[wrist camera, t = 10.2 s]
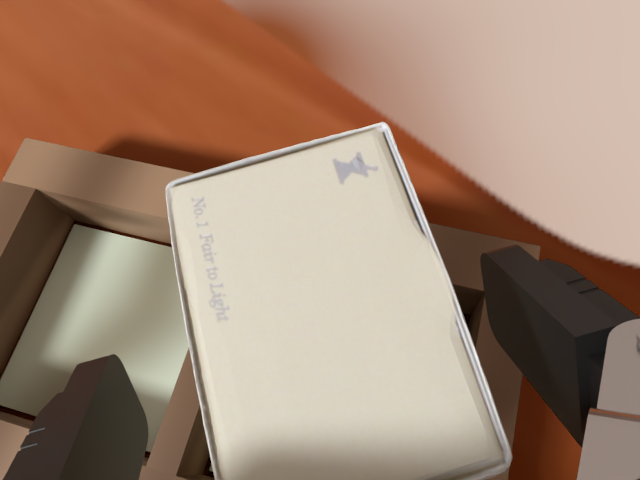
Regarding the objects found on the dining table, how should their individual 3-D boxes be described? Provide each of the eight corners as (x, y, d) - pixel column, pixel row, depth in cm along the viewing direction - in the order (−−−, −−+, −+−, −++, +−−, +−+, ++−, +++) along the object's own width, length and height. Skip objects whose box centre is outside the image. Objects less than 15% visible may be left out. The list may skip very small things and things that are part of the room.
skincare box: (267, 328, 21) (149, 171, 10) (379, 297, 21) (387, 106, 10) (307, 505, 19) (212, 559, 7) (433, 469, 19) (524, 469, 8)
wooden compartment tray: (-74, 449, 21) (-142, 446, 18) (63, 174, 25) (25, 137, 22) (464, 631, 17) (481, 662, 14) (518, 275, 21) (540, 245, 19)
